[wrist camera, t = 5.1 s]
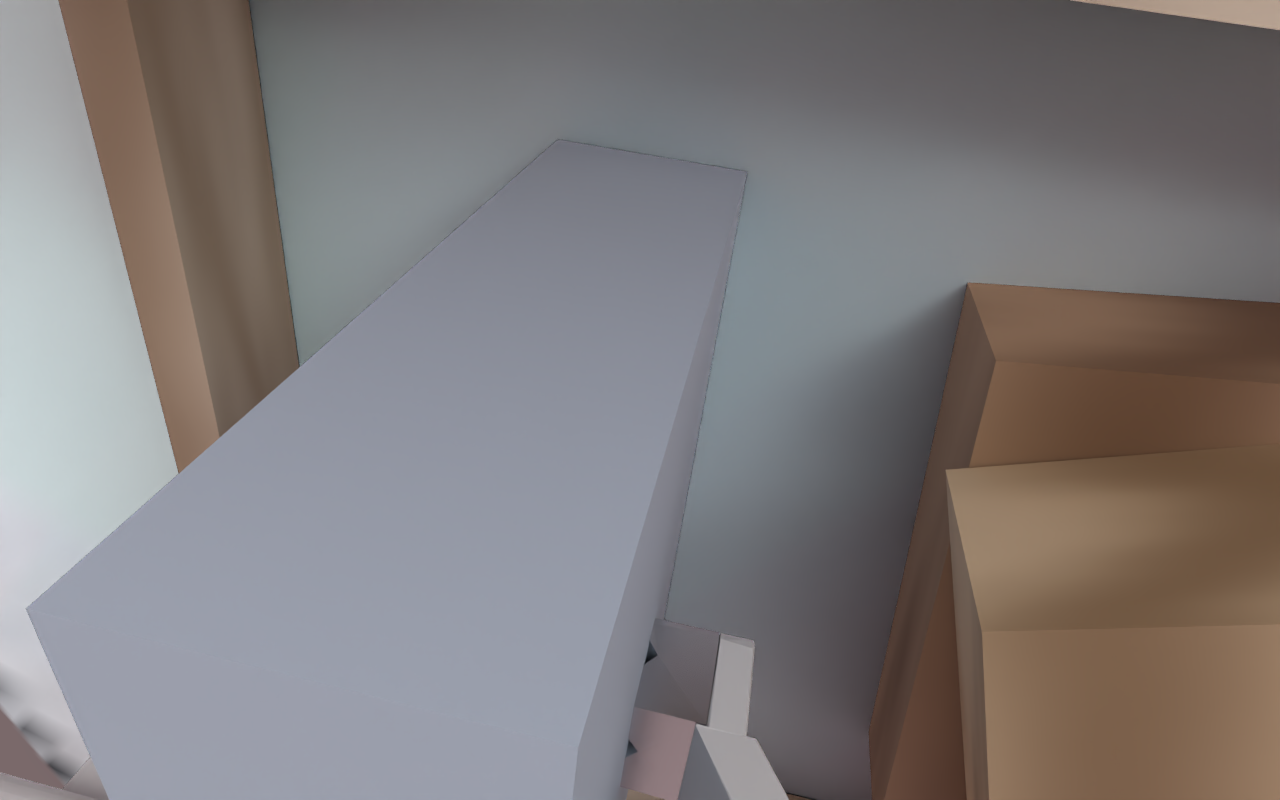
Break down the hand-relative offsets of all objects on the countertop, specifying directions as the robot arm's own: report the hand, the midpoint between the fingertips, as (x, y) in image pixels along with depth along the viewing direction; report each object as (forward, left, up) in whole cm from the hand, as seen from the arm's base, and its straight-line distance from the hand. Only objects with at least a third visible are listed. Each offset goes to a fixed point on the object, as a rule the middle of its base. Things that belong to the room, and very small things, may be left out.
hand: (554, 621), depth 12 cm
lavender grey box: (0, 0, -4) cm, 4 cm away
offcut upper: (-8, 0, -2) cm, 9 cm away
